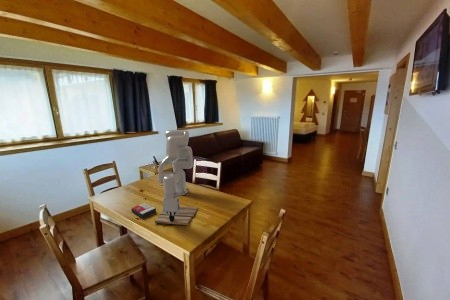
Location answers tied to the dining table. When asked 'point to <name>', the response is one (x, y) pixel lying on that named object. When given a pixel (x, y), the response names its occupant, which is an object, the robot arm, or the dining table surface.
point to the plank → (177, 220)
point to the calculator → (143, 210)
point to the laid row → (184, 212)
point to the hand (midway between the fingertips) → (172, 220)
